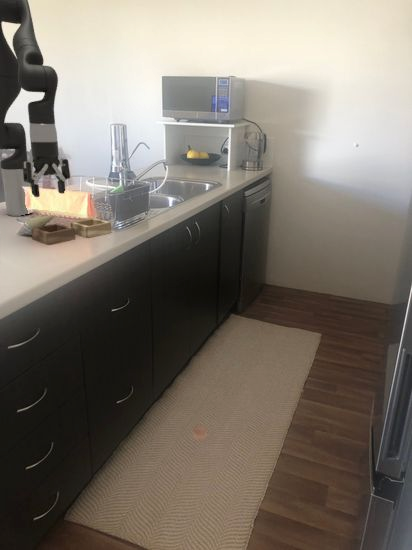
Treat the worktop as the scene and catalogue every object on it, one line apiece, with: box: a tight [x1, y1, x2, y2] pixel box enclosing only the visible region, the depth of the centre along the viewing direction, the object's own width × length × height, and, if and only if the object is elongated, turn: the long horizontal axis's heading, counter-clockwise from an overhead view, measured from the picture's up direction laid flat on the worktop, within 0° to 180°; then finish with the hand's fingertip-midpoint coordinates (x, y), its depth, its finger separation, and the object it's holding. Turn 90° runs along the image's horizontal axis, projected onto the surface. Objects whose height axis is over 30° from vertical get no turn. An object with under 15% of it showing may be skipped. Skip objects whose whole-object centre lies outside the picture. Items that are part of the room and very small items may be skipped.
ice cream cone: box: [16, 214, 55, 236], centre depth 139 cm, size 5×5×15 cm
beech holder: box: [70, 217, 112, 239], centre depth 145 cm, size 9×9×4 cm
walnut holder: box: [31, 223, 76, 246], centre depth 137 cm, size 9×9×4 cm
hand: (49, 194), depth 132 cm, fingers open, 8 cm apart
